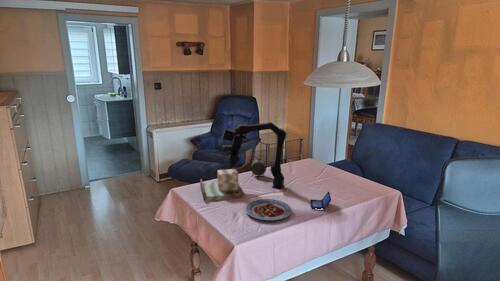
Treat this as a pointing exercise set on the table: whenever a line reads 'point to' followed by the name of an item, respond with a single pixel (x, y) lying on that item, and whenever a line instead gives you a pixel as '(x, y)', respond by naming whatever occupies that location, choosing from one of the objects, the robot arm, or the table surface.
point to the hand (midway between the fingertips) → (230, 165)
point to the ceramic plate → (268, 209)
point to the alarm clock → (258, 167)
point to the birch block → (227, 179)
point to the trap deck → (218, 192)
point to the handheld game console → (321, 202)
